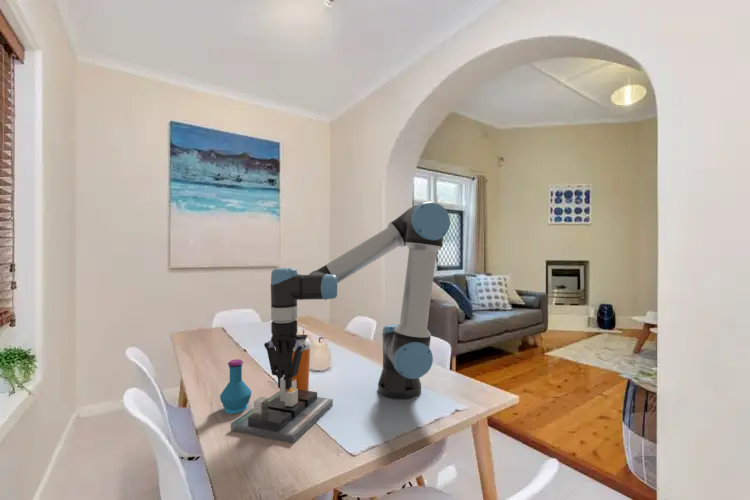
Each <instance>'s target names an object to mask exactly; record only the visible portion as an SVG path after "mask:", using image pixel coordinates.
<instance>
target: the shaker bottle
mask: <svg viewBox="0 0 750 500" xmlns="http://www.w3.org/2000/svg"><path fill="white" fill-rule="evenodd" d="M308 336H309V335H308V334H297V338H298V342H299V343H301V344H305V348H304V350H303V352H302V356H301V361H300V365H299V370H298V374H297V375H296V376H294V377H293V378H292V379H296V389H298V390H305V391H309V383H310V359H311V358H310V357H311V356H310V355H311V353H310V352H311V347H312V346H311V345H312V343H311V341H310V339H309V338H308ZM295 347H296V346H295ZM295 347H294V348H293V354H292V363H293V358H294V353H295V351H296V350H295Z"/></svg>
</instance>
